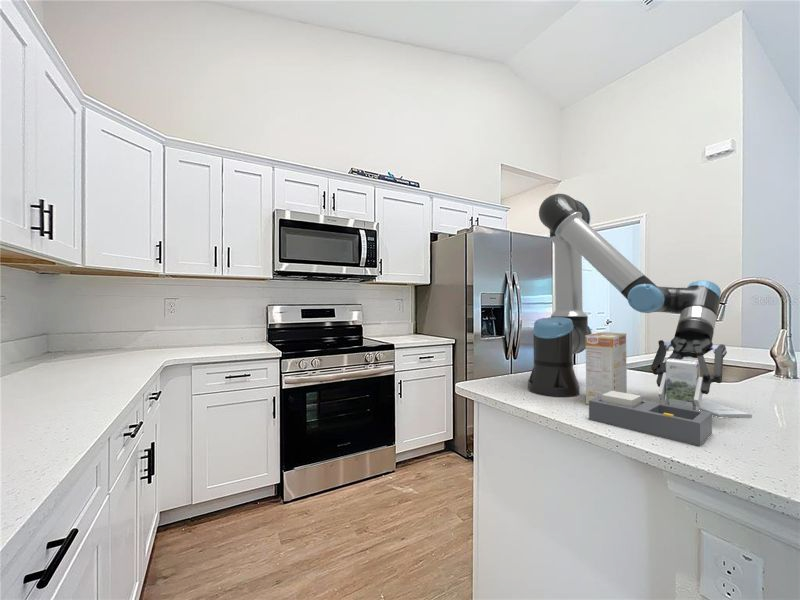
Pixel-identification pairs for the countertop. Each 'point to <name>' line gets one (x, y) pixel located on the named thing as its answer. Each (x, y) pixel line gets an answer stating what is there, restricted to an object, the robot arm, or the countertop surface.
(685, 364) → the syrup box
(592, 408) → the gray desk organizer tray
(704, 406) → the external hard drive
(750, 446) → the countertop surface
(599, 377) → the coffeecake box
